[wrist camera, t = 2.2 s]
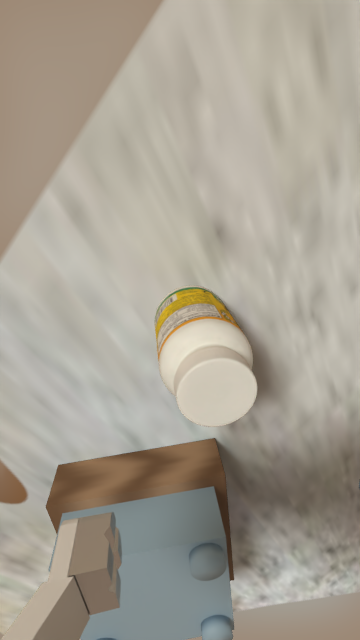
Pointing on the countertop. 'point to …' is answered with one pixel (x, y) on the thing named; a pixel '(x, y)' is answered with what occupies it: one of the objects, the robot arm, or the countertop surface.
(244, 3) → the countertop surface
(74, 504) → the base brick
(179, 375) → the supplement bottle
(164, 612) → the top brick
